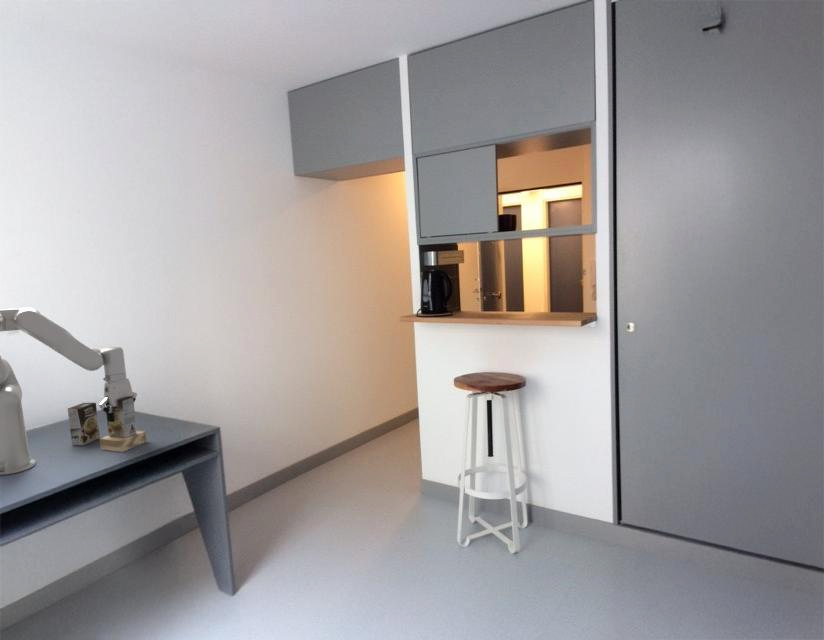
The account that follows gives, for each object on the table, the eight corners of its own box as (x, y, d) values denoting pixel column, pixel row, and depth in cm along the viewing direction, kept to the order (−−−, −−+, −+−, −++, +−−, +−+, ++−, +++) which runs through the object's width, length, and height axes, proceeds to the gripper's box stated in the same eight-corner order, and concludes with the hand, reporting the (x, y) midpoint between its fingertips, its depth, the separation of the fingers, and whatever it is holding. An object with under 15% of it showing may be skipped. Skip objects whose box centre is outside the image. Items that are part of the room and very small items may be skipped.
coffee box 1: (84, 445, 223) (79, 408, 221) (71, 445, 224) (66, 408, 222) (101, 437, 232) (96, 402, 230) (88, 437, 233) (83, 401, 231)
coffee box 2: (107, 436, 219) (103, 398, 217) (120, 431, 225) (116, 394, 223) (125, 438, 216) (121, 399, 214) (137, 433, 222) (134, 395, 221)
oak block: (122, 453, 214) (120, 441, 213) (100, 450, 218) (99, 438, 217) (146, 442, 225) (145, 431, 224) (126, 440, 229) (124, 429, 229)
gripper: (103, 383, 208) (108, 425, 210) (140, 372, 224) (144, 412, 226) (89, 382, 211) (95, 424, 213) (127, 372, 227) (132, 411, 229)
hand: (120, 418), depth 220 cm, fingers open, 8 cm apart
